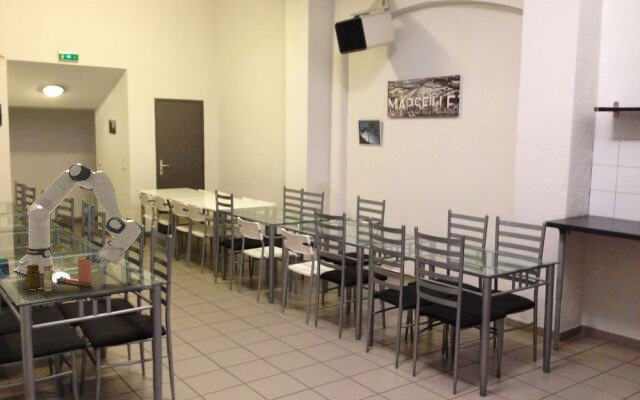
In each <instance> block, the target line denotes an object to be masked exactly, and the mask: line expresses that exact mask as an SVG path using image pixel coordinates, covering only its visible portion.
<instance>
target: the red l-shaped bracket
mask: <svg viewBox="0 0 640 400" xmlns="http://www.w3.org/2000/svg"><path fill="white" fill-rule="evenodd" d="M77 272H78V273H77V274H78V279H77V278H68V277H66V278H67V279H65V283H64V284H70V285H79V286H85V287H91V286H92V284H93V283H92V259H91V258H90V255H85V257H84V258H83V257H82V258H81V257H79V258H77Z"/></svg>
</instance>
